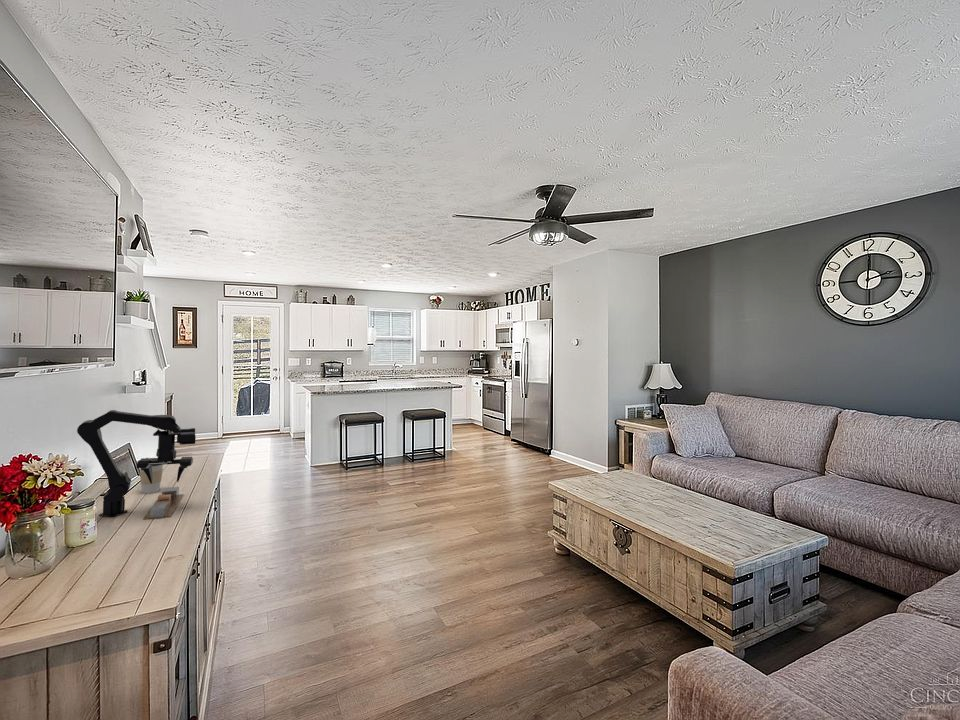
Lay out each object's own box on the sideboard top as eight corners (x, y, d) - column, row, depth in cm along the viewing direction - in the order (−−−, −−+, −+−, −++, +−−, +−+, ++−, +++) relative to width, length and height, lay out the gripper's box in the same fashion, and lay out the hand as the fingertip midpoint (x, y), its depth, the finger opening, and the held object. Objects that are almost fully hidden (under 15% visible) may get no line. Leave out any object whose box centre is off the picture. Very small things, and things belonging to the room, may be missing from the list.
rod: (164, 514, 181) (164, 503, 181) (152, 515, 179) (152, 504, 179) (172, 501, 196) (173, 491, 195) (161, 502, 194) (161, 491, 194)
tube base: (170, 517, 180) (171, 506, 180) (143, 519, 177) (143, 508, 177) (183, 495, 206) (184, 486, 206) (160, 496, 202) (160, 487, 202)
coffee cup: (167, 488, 213) (168, 457, 213) (151, 494, 204) (152, 461, 204) (149, 487, 214) (150, 455, 214) (133, 493, 205) (134, 460, 205)
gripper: (195, 441, 200) (194, 476, 200) (144, 442, 192) (142, 478, 193) (191, 446, 190) (189, 483, 190) (137, 447, 182) (135, 486, 183)
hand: (164, 482), depth 189 cm, fingers open, 9 cm apart
